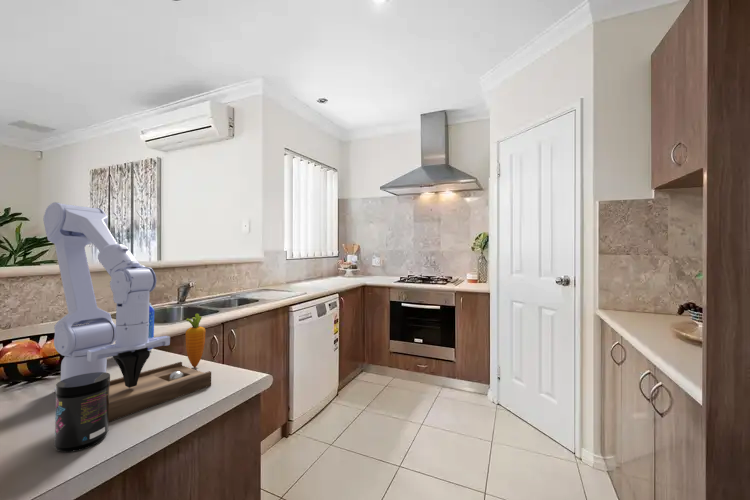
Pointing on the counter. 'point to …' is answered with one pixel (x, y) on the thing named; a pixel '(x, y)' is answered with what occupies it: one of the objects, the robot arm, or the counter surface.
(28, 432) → the counter surface
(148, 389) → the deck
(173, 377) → the ball
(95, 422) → the supplement container
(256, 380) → the counter surface
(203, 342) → the carrot
